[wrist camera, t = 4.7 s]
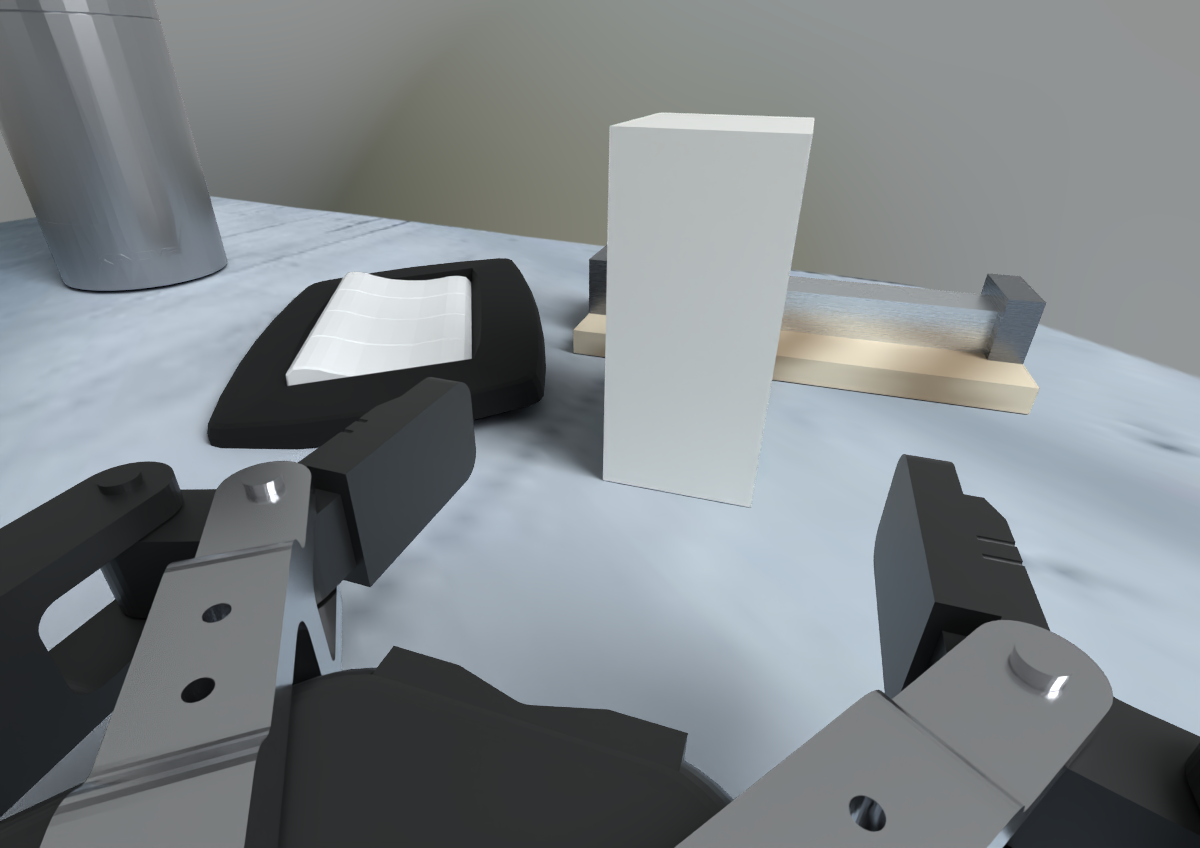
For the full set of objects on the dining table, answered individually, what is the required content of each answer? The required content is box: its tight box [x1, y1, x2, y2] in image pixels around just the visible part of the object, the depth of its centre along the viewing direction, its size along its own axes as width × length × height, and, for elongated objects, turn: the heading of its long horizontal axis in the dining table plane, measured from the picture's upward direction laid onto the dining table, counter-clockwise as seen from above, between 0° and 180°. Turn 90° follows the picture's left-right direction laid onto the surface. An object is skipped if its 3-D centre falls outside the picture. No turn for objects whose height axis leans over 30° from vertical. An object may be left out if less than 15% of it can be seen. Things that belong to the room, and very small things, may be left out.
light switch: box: [207, 258, 546, 449], centre depth 31 cm, size 20×3×14 cm
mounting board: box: [573, 313, 1040, 414], centre depth 32 cm, size 20×9×1 cm, turn 73°
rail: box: [589, 245, 1046, 364], centre depth 31 cm, size 20×4×3 cm, turn 73°
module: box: [603, 113, 814, 508], centre depth 21 cm, size 5×7×11 cm
